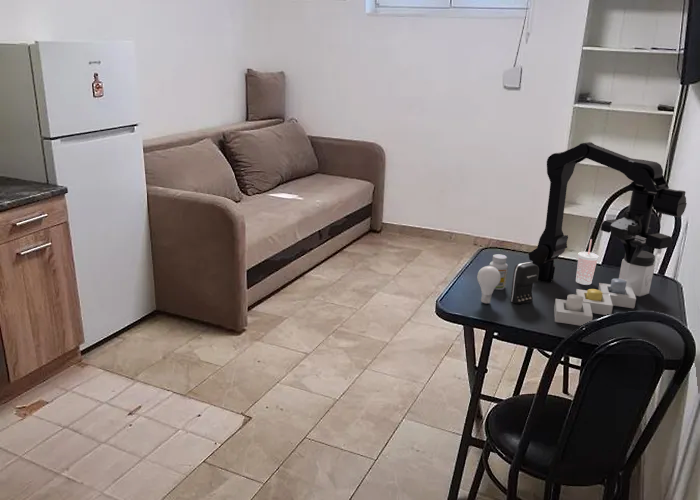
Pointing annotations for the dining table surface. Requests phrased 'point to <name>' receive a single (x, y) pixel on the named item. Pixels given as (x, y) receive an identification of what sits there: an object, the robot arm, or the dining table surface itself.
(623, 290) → the slate button
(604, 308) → the hollow square frame
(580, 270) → the beverage cup
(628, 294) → the light gray housing
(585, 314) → the offwhite housing
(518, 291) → the battery charger
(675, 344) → the dining table surface
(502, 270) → the supplement bottle
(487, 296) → the lightbulb
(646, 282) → the jar
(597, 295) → the mustard button
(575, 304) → the offwhite button
